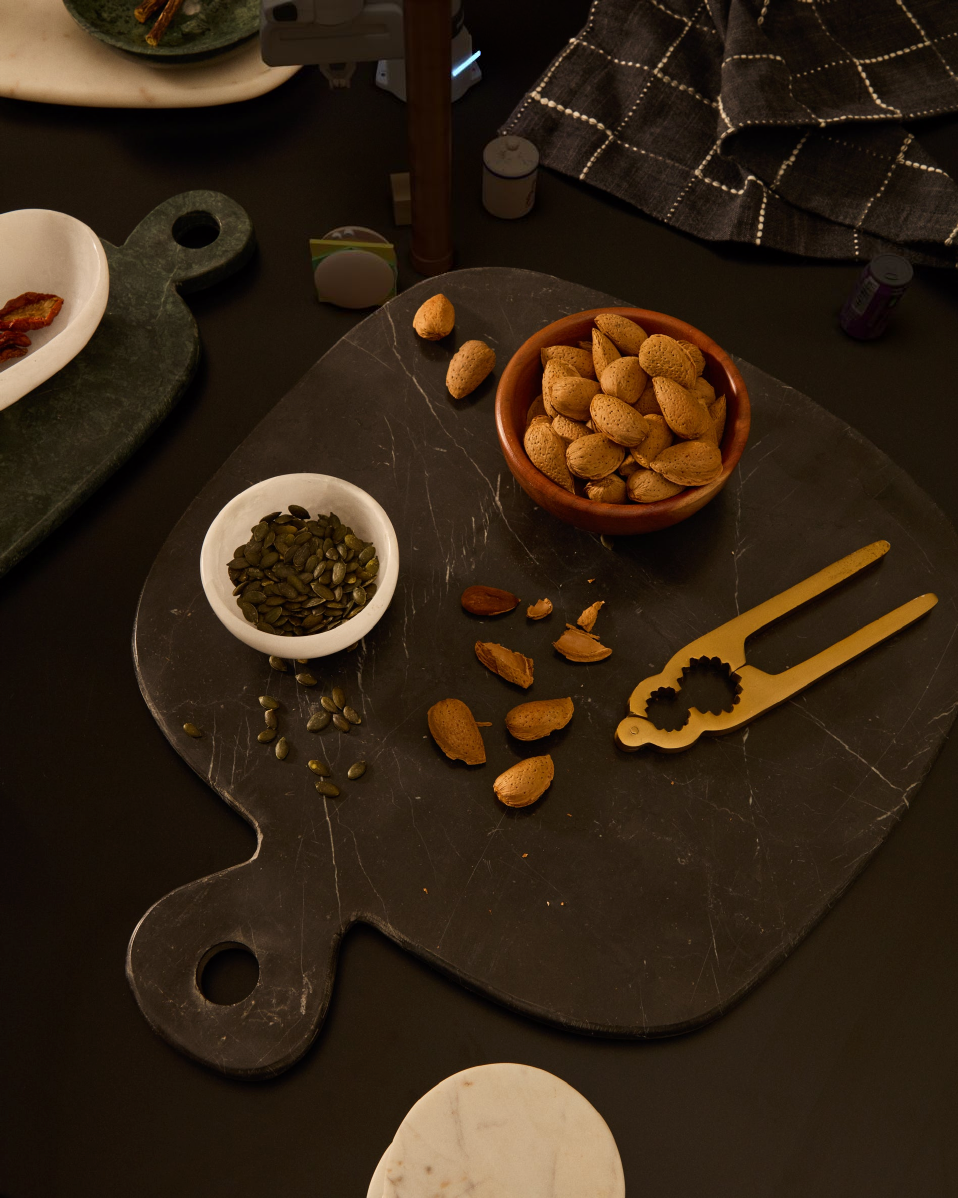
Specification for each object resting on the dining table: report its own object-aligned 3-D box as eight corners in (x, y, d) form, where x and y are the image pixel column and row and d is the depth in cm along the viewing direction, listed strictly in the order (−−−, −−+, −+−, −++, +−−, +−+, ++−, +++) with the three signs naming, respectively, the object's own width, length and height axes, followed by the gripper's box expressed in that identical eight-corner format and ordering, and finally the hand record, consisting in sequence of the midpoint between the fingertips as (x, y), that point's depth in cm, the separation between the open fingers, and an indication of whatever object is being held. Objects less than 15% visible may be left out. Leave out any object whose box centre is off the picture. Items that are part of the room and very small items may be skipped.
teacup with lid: (537, 220, 159) (544, 161, 149) (482, 221, 159) (484, 162, 148) (531, 168, 165) (537, 107, 154) (477, 169, 164) (479, 108, 154)
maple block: (391, 198, 161) (390, 173, 156) (428, 195, 161) (427, 170, 157) (395, 225, 158) (394, 200, 154) (432, 222, 159) (432, 197, 154)
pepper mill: (408, 245, 156) (392, -91, 111) (450, 242, 157) (452, -94, 111) (412, 277, 153) (398, -54, 108) (455, 274, 154) (459, -57, 108)
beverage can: (882, 346, 150) (916, 290, 139) (836, 338, 151) (866, 282, 140) (883, 311, 153) (916, 254, 142) (838, 303, 154) (868, 246, 143)
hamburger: (400, 276, 153) (396, 216, 143) (395, 317, 150) (391, 259, 139) (324, 271, 153) (314, 211, 143) (317, 312, 150) (307, 254, 139)
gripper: (407, -30, 128) (410, 65, 140) (249, -22, 126) (267, 74, 139) (411, 1, 125) (415, 96, 138) (251, 10, 124) (269, 105, 136)
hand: (339, 85), depth 138 cm, fingers closed
